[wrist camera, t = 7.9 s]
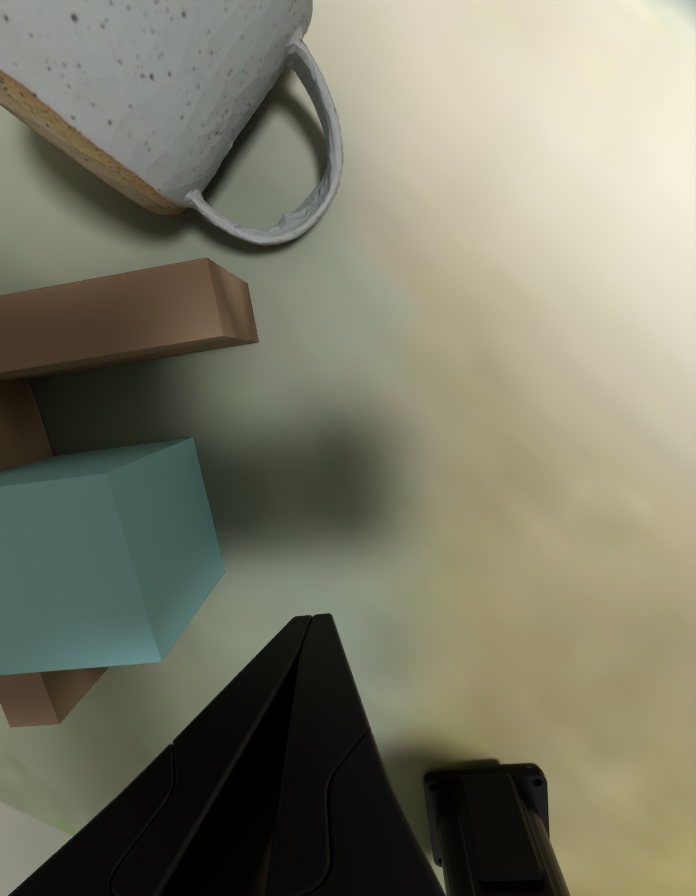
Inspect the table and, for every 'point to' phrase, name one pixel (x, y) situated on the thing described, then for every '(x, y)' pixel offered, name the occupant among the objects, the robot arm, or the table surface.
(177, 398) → the table surface
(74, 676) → the corner board
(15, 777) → the table surface
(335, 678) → the robot arm
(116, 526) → the teal block
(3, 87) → the ceramic mug
